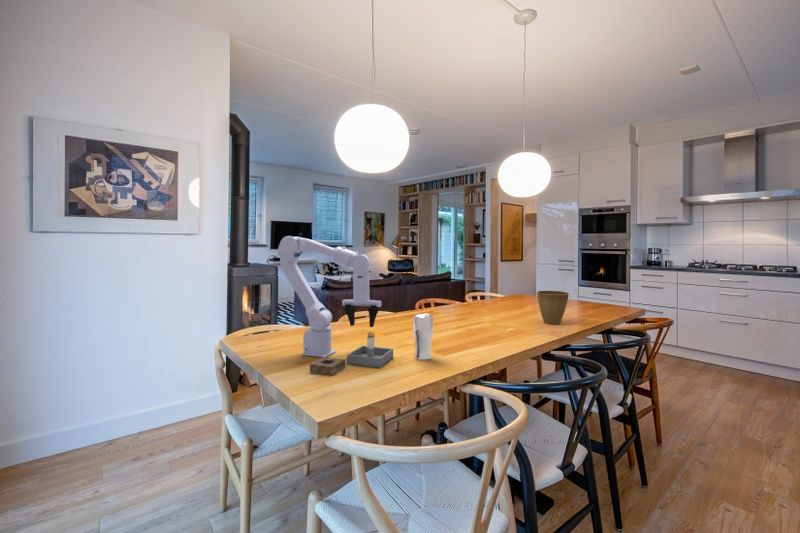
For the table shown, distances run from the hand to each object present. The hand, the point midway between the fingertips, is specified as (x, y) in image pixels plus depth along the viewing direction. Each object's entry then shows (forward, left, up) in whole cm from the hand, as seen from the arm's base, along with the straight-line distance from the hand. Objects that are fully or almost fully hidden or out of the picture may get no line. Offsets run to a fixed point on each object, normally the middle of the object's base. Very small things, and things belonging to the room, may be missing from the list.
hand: (362, 326), depth 129 cm
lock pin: (+6, -5, -10) cm, 13 cm away
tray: (+6, -5, -10) cm, 13 cm away
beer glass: (+22, +4, -11) cm, 24 cm away
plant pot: (+69, +82, -11) cm, 107 cm away
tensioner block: (-3, -18, -10) cm, 21 cm away
